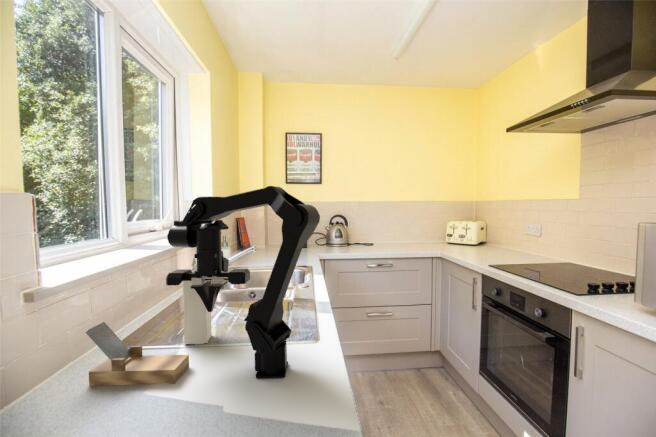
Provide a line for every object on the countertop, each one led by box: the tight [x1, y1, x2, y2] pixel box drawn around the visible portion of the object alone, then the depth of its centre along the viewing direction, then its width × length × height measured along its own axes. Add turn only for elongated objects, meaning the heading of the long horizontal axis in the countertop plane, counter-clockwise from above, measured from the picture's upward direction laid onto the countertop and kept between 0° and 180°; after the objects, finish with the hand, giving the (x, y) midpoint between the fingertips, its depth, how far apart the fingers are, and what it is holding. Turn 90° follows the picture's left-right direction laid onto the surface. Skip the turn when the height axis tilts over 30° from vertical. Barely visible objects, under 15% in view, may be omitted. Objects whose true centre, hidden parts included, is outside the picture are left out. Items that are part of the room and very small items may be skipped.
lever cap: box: [85, 321, 133, 361], centre depth 69 cm, size 2×5×10 cm
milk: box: [182, 262, 212, 346], centre depth 88 cm, size 6×6×22 cm
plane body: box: [88, 345, 190, 387], centre depth 69 cm, size 18×7×5 cm, turn 91°
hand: (210, 311), depth 76 cm, fingers closed
